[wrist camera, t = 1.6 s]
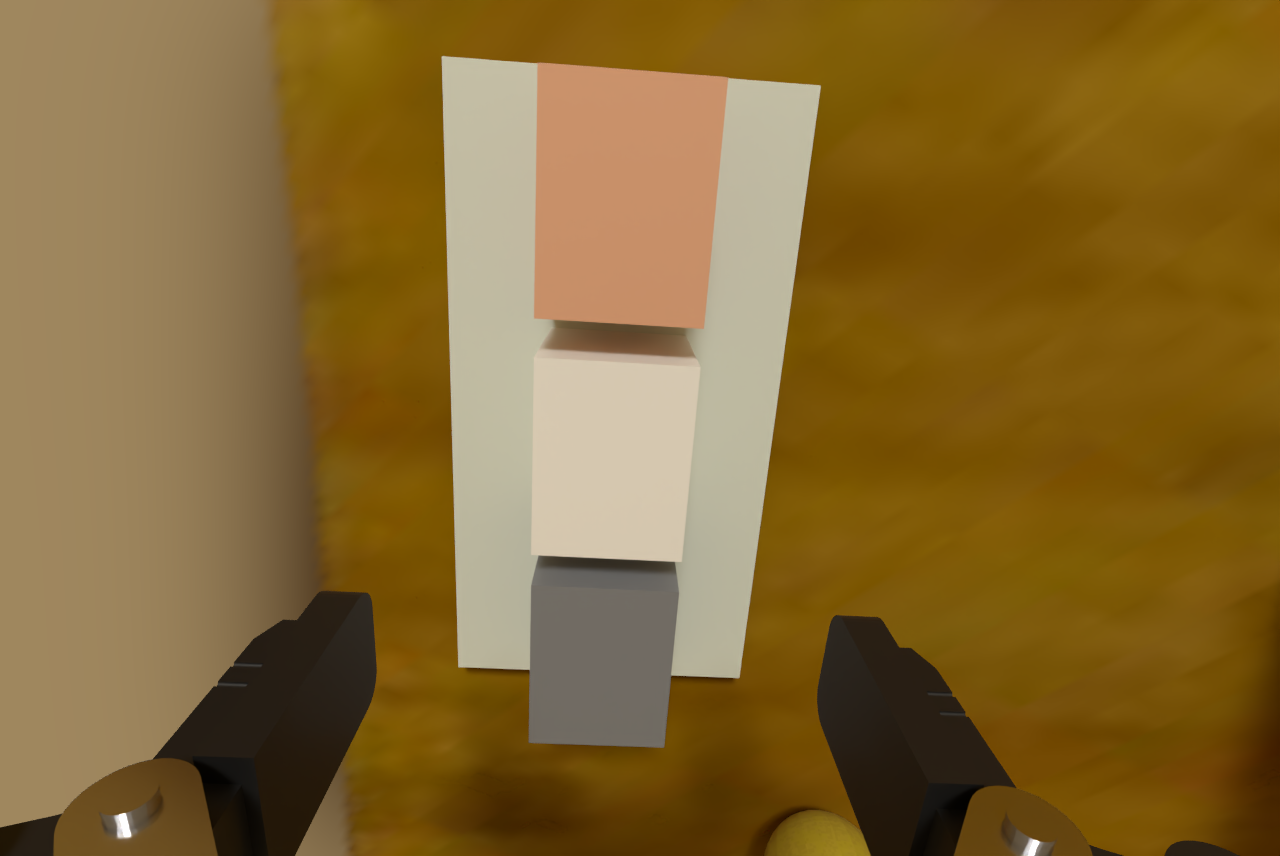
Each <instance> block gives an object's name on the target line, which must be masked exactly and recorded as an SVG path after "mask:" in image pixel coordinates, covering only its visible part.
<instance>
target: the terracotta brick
mask: <svg viewBox="0 0 1280 856" xmlns="http://www.w3.org/2000/svg"><path fill="white" fill-rule="evenodd" d="M727 86H728V77H717V76H704V75H692V74H679V73H666V72H653V71H640V70H627V69H614V68H601V67H588V66H575V65H563V64H550V63H538V67H537V139H536V210H535V282H534V319H550V320H567V321H583V322H599V323H616V324H632V325H648V326H664V327H681V328H697V329H704V323H705V313H706V303H707V292H708V282H709V272H710V261H711V251H712V241H713V230H714V220H715V210H716V199H717V189H718V179H719V168H720V158H721V148H722V138H723V127H724V117H725V107H726V96H727Z"/></svg>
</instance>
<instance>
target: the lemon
mask: <svg viewBox="0 0 1280 856" xmlns="http://www.w3.org/2000/svg"><path fill="white" fill-rule="evenodd" d="M764 856H871V855H870V852H869V850H868V847H867V844H866V842H865V839H864V836H863V834H862V832H861V831H860V830H859V829H858V828H857V827H855V826H854V825H853V824H852V823H850V822H849V821H848V820H846V819H845V818H843V817H841V816H839V815H837V814H834V813H831V812H828V811H823V810H806V811H801V812H798V813H796V814H793V815H791V816H789V817H788V818H787V819H785V820H784V821H783V822H782V823H780V825H779V826H778V827H777V828H776V829H775V830H774V832H773V833H772V835H771V837H770V839H769V841H768V843H767V846H766V849H765V852H764Z"/></svg>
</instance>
